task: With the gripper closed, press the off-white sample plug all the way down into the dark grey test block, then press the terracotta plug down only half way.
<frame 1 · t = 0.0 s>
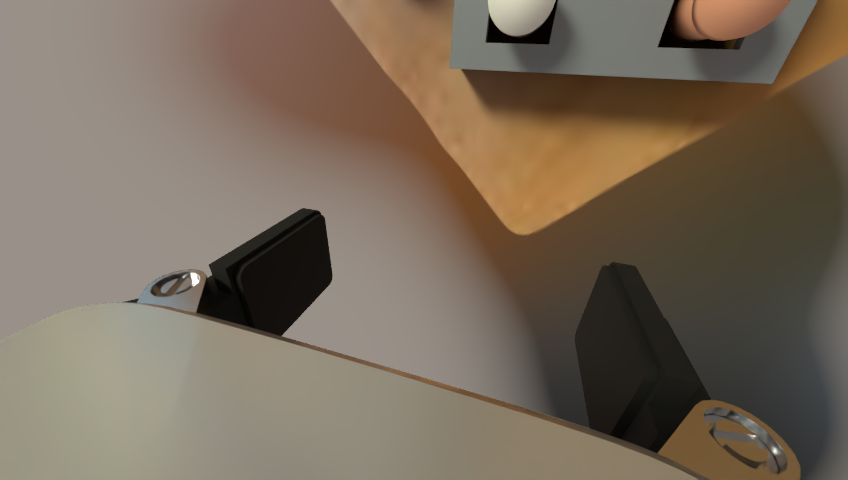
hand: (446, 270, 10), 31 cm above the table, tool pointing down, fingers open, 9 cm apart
sample plug: (522, 2, 25), point 7 cm above the table, slide at 0.0 cm
test block: (598, 16, 29), on the table
terracotta plug: (722, 1, 22), point 7 cm above the table, slide at 0.0 cm
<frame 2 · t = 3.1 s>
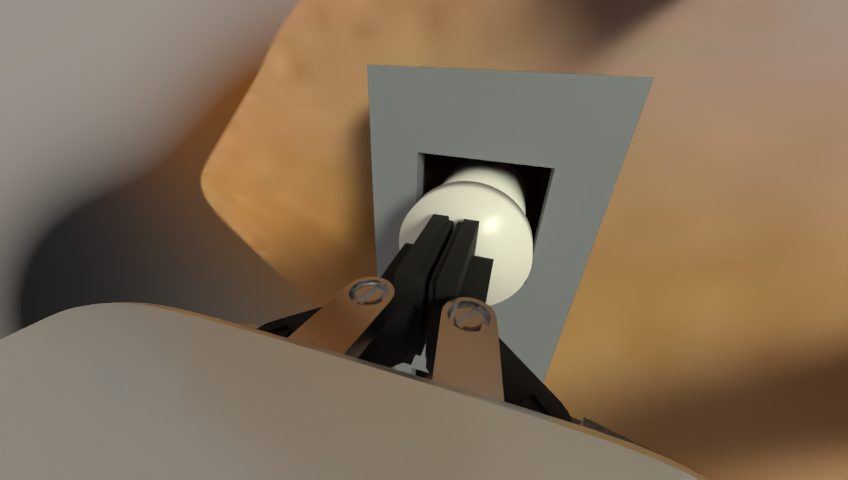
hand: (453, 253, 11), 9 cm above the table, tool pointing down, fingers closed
sample plug: (474, 221, 14), point 6 cm above the table, slide at 1.1 cm, touching gripper
test block: (475, 273, 22), on the table
terracotta plug: (445, 420, 20), point 7 cm above the table, slide at 0.0 cm
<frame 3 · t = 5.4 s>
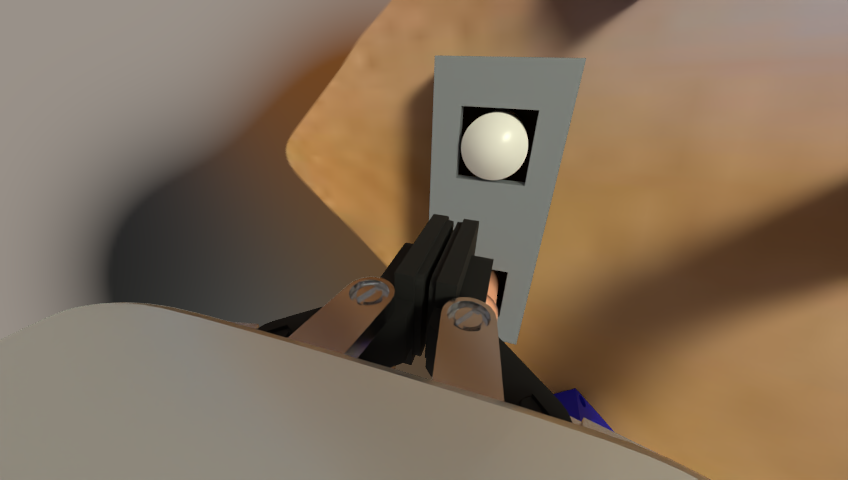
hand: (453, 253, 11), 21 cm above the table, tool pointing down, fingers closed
sample plug: (496, 140, 26), point 3 cm above the table, slide at 3.6 cm
test block: (490, 203, 32), on the table
blue curved block: (584, 417, 43), on the table
terracotta plug: (473, 296, 30), point 7 cm above the table, slide at 0.0 cm
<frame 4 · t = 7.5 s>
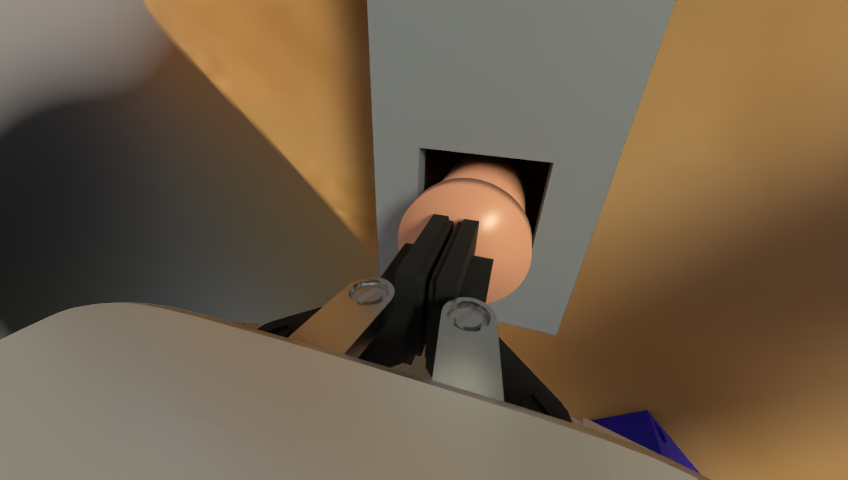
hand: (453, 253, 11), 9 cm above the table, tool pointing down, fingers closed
test block: (509, 45, 16), on the table
blue curved block: (654, 455, 27), on the table
terracotta plug: (473, 218, 14), point 6 cm above the table, slide at 0.7 cm, touching gripper
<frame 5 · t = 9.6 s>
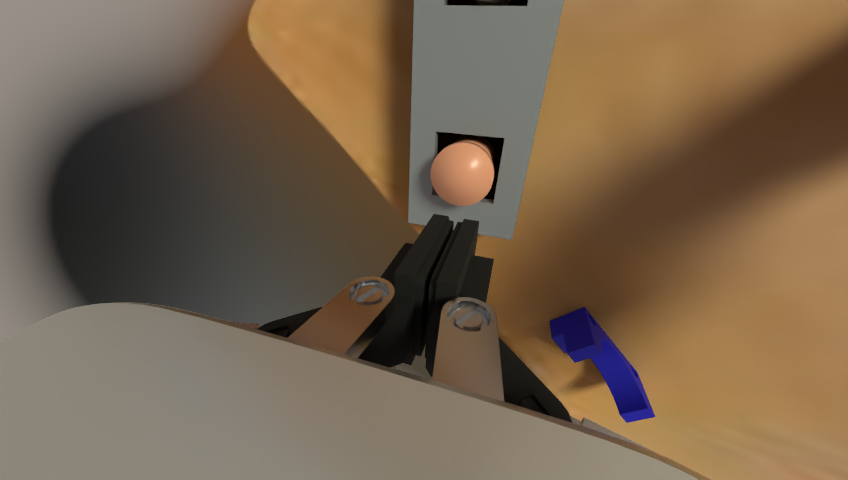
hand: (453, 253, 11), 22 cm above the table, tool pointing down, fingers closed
test block: (483, 75, 28), on the table
blue curved block: (592, 344, 39), on the table
terracotta plug: (466, 166, 27), point 5 cm above the table, slide at 1.7 cm
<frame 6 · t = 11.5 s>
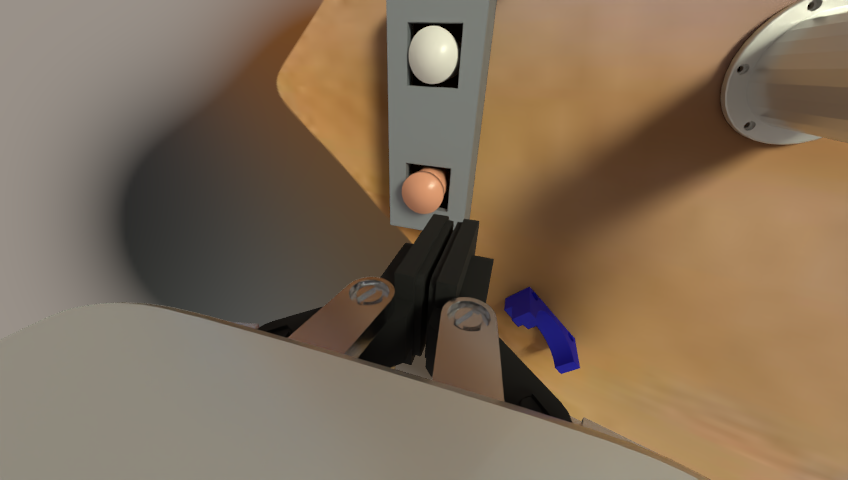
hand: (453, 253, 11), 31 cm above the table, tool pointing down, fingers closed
sample plug: (439, 57, 33), point 3 cm above the table, slide at 3.6 cm
test block: (442, 121, 39), on the table
blue curved block: (539, 316, 50), on the table
terracotta plug: (428, 186, 38), point 5 cm above the table, slide at 1.7 cm
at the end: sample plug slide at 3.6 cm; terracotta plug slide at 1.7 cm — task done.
